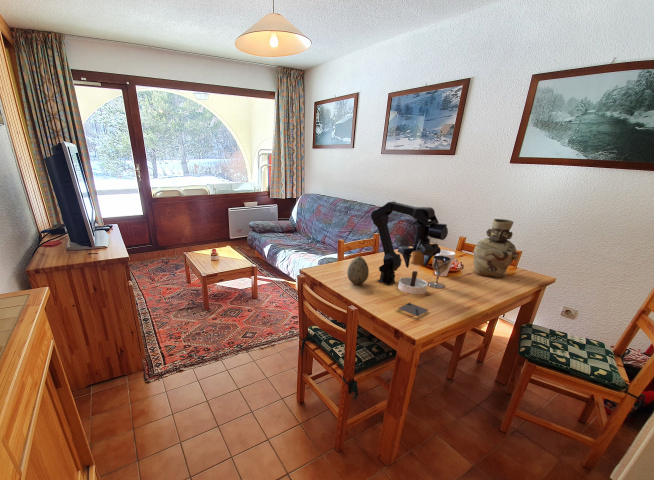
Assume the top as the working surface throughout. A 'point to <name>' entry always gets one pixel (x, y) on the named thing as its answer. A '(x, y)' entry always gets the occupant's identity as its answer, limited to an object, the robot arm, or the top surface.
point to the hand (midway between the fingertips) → (416, 266)
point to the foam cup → (447, 254)
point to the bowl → (405, 286)
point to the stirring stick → (413, 278)
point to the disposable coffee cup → (417, 258)
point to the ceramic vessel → (495, 250)
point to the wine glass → (439, 268)
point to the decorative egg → (358, 271)
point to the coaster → (413, 309)
